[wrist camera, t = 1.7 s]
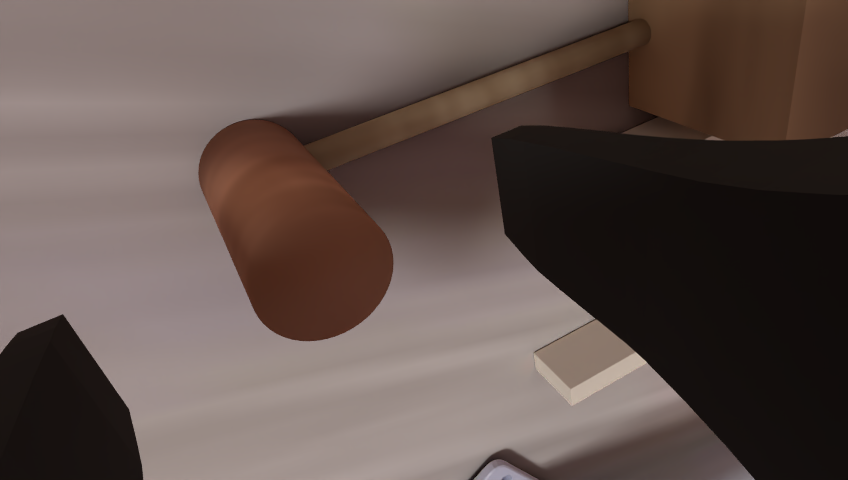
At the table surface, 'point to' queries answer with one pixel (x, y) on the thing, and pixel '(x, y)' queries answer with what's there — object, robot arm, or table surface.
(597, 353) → the lane rack
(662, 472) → the table surface
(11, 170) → the table surface
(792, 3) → the tethered block
